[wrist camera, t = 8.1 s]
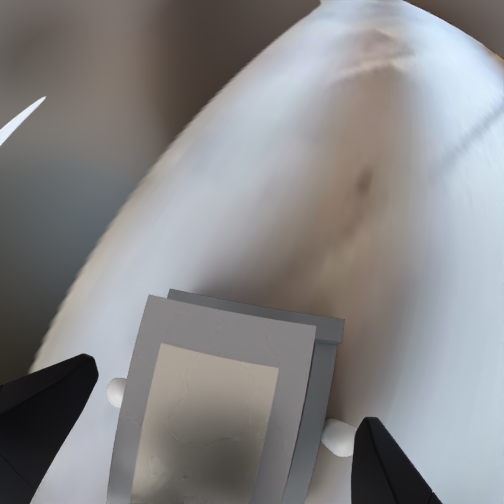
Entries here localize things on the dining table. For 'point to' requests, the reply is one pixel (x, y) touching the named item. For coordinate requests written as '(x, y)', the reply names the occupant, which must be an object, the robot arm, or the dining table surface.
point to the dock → (316, 396)
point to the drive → (209, 407)
